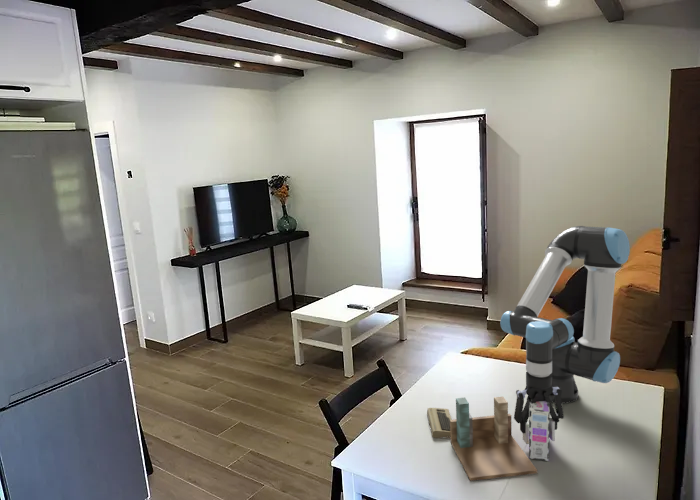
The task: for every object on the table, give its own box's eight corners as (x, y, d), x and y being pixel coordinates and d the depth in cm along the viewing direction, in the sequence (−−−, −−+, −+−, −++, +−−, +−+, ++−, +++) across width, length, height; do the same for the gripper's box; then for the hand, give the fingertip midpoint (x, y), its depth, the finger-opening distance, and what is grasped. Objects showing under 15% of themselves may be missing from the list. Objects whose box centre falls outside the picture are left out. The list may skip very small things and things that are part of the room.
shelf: (510, 436, 165) (509, 391, 162) (537, 473, 146) (537, 422, 143) (450, 442, 164) (449, 397, 161) (470, 480, 144) (469, 430, 142)
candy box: (549, 462, 151) (549, 411, 148) (528, 459, 153) (528, 409, 150) (548, 437, 163) (548, 390, 160) (528, 434, 165) (529, 388, 162)
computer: (456, 438, 167) (456, 429, 166) (432, 439, 167) (432, 430, 167) (449, 414, 182) (449, 406, 182) (427, 415, 183) (426, 407, 182)
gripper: (565, 364, 158) (564, 430, 162) (501, 370, 156) (502, 437, 160) (577, 374, 150) (576, 443, 155) (511, 380, 149) (511, 450, 153)
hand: (538, 440), depth 157 cm, fingers closed on candy box, 8 cm apart
